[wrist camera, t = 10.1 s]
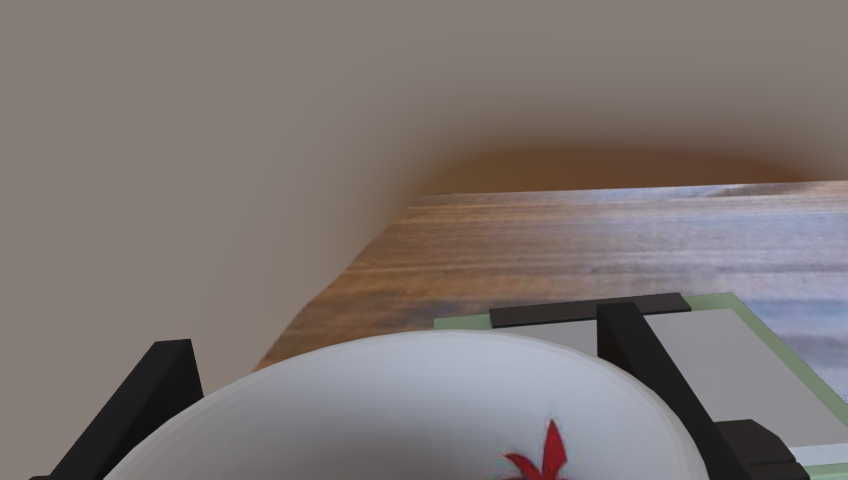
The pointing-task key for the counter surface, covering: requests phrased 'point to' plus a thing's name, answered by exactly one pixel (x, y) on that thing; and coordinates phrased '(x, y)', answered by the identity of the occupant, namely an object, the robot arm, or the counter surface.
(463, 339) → the cup
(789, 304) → the counter surface
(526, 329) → the scale
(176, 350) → the robot arm
